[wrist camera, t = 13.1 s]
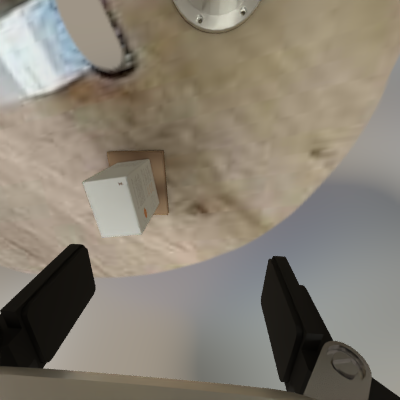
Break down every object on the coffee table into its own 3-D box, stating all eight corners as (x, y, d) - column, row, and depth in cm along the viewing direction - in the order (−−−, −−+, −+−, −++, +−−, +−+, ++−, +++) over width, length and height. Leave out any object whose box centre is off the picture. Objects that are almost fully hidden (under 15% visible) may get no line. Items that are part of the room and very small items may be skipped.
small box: (117, 162, 35) (79, 180, 25) (150, 158, 34) (125, 174, 24) (129, 207, 38) (100, 239, 28) (160, 204, 37) (141, 235, 27)
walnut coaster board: (109, 151, 35) (106, 152, 34) (163, 150, 35) (162, 151, 34) (120, 212, 39) (117, 214, 38) (168, 212, 39) (167, 214, 38)
